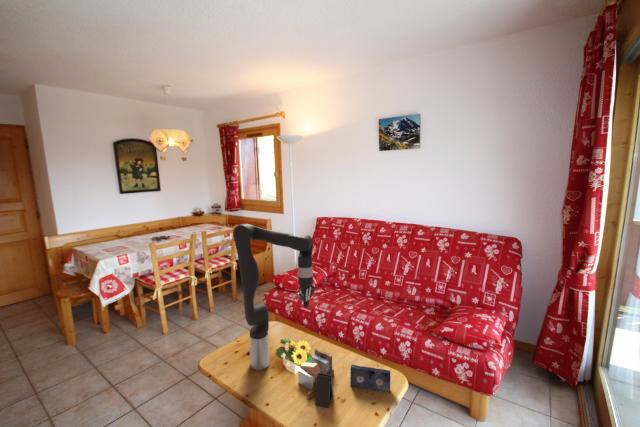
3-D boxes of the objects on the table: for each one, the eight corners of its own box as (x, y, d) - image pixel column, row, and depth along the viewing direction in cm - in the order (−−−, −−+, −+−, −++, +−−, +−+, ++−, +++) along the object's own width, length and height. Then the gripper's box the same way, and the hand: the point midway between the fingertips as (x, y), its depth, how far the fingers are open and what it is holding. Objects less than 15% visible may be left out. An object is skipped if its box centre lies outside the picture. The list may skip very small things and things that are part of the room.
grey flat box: (298, 383, 146) (298, 370, 145) (301, 380, 148) (300, 367, 147) (313, 391, 141) (313, 377, 140) (316, 388, 142) (315, 375, 141)
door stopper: (328, 408, 131) (327, 383, 129) (314, 405, 132) (314, 380, 131) (333, 393, 139) (333, 369, 137) (321, 390, 141) (320, 367, 139)
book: (318, 384, 141) (313, 367, 141) (304, 382, 147) (299, 365, 147) (322, 380, 144) (318, 363, 144) (308, 378, 149) (304, 361, 150)
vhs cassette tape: (390, 389, 141) (390, 370, 139) (390, 394, 138) (390, 374, 137) (351, 382, 146) (351, 363, 144) (350, 386, 143) (350, 367, 142)
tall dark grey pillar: (290, 389, 142) (290, 369, 141) (316, 366, 158) (316, 348, 157) (309, 399, 136) (308, 379, 134) (334, 374, 152) (333, 356, 150)
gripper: (302, 280, 145) (303, 314, 148) (319, 272, 155) (319, 303, 158) (290, 277, 149) (292, 309, 152) (307, 269, 160) (308, 300, 163)
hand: (306, 306), depth 155 cm, fingers closed
